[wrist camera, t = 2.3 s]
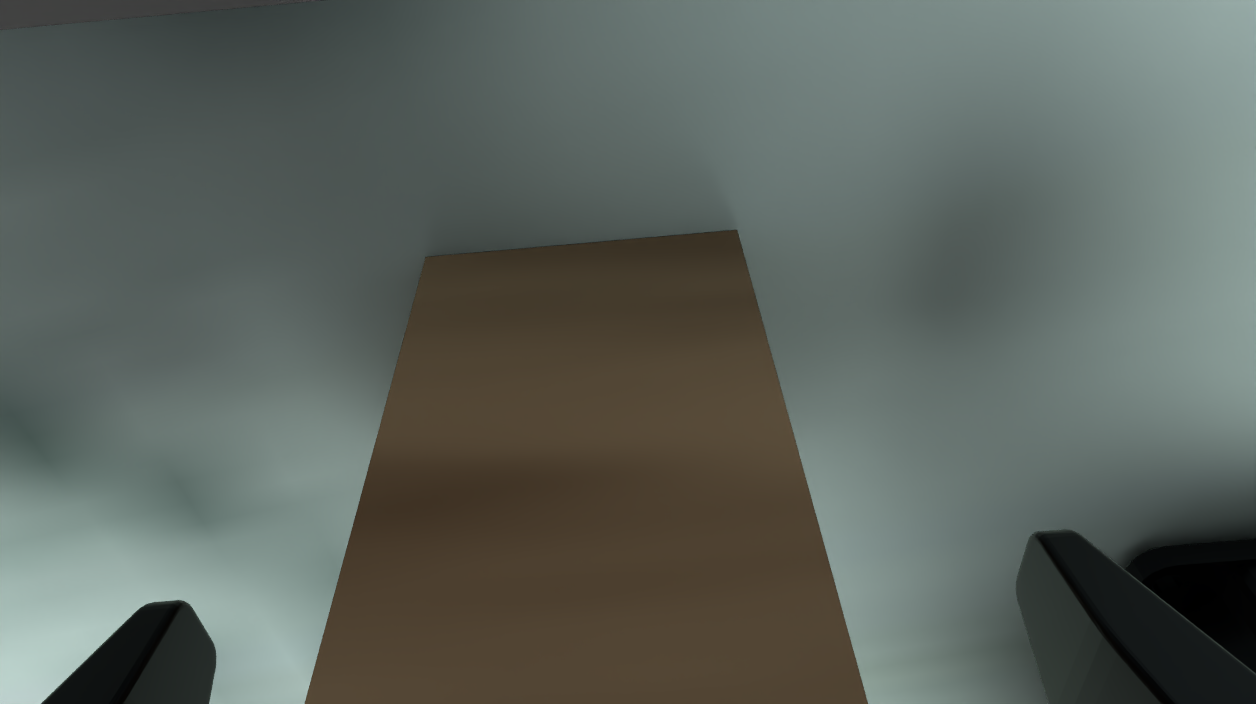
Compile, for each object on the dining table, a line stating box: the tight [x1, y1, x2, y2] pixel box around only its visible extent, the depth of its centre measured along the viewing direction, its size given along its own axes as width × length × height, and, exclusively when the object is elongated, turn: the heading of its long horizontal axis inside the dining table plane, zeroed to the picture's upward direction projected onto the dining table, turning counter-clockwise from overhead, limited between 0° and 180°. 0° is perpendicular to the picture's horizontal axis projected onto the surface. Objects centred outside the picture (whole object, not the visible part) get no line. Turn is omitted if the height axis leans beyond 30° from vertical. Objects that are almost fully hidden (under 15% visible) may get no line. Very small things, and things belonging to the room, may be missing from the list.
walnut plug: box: [305, 230, 868, 704], centre depth 9 cm, size 4×4×9 cm
